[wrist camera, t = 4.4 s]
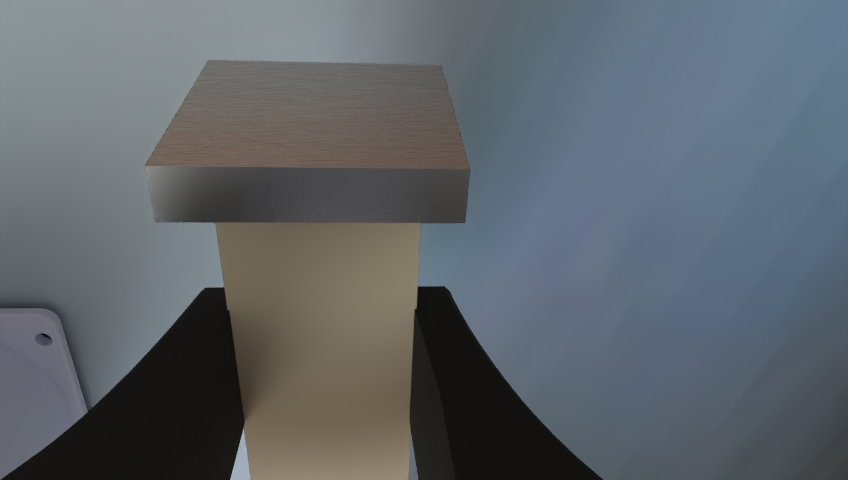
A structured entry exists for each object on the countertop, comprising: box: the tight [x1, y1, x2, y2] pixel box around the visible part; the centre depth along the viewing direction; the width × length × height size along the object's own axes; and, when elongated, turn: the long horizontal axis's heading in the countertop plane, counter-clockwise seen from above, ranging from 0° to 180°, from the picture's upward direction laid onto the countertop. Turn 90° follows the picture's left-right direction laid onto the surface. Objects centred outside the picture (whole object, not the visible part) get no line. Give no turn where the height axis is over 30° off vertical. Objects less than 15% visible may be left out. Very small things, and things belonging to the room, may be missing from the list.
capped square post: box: [145, 60, 470, 480], centre depth 13 cm, size 11×4×4 cm, turn 177°
